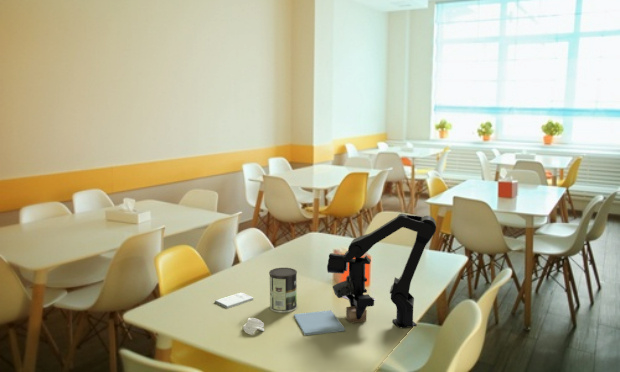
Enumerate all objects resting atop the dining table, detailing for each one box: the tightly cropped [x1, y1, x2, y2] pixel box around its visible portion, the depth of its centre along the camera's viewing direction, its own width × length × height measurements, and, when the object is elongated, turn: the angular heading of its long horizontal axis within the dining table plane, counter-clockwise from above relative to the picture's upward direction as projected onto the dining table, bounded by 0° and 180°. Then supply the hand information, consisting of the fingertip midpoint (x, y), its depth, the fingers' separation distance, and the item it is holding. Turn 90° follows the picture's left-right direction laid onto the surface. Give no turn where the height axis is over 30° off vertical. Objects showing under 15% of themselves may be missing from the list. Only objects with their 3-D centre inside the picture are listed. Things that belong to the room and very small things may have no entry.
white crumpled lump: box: [242, 317, 265, 336], centre depth 176 cm, size 8×7×5 cm
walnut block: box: [345, 306, 368, 324], centre depth 185 cm, size 4×6×4 cm
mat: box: [293, 310, 346, 336], centre depth 182 cm, size 16×14×1 cm
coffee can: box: [268, 267, 298, 314], centre depth 195 cm, size 10×10×14 cm
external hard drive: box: [214, 291, 254, 309], centre depth 202 cm, size 2×8×12 cm
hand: (356, 316), depth 185 cm, fingers closed on walnut block, 4 cm apart
